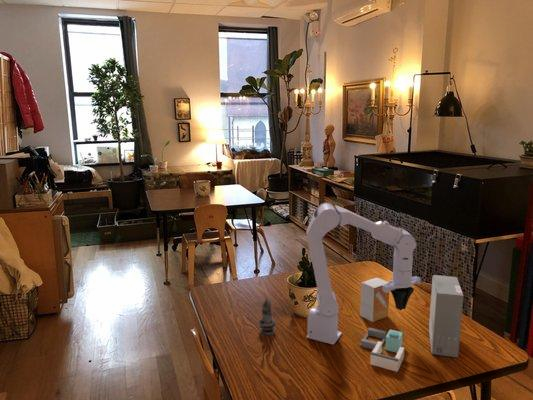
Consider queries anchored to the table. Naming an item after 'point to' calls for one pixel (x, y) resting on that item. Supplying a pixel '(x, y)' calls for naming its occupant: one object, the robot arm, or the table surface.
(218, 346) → the table surface
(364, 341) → the frame
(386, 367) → the port
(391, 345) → the plug
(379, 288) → the small box
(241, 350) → the table surface
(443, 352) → the hard drive box
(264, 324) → the grey ridged spire
